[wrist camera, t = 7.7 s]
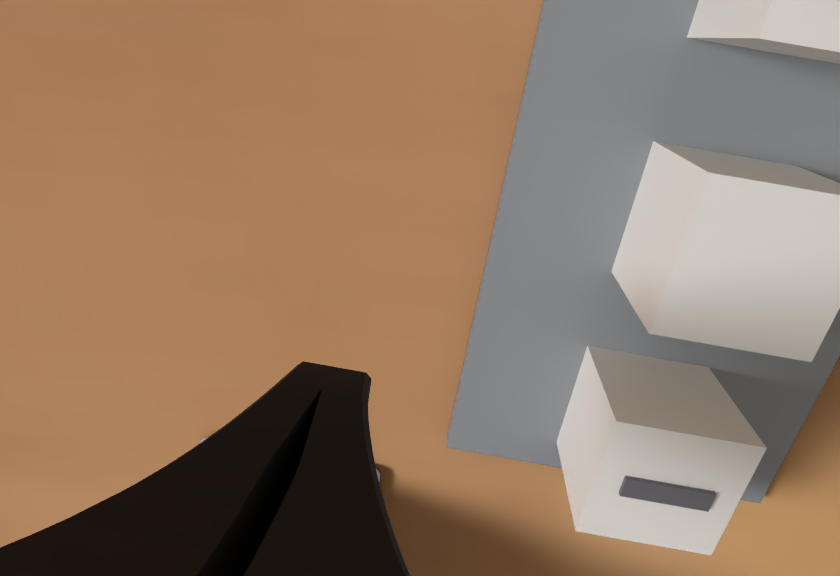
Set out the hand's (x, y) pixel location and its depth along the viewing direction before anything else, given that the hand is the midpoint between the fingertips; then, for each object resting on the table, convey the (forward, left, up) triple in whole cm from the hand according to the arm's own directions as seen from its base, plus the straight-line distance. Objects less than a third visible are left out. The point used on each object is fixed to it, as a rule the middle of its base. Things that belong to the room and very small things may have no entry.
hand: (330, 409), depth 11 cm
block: (-5, -10, -10) cm, 15 cm away
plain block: (+3, -10, -10) cm, 14 cm away
